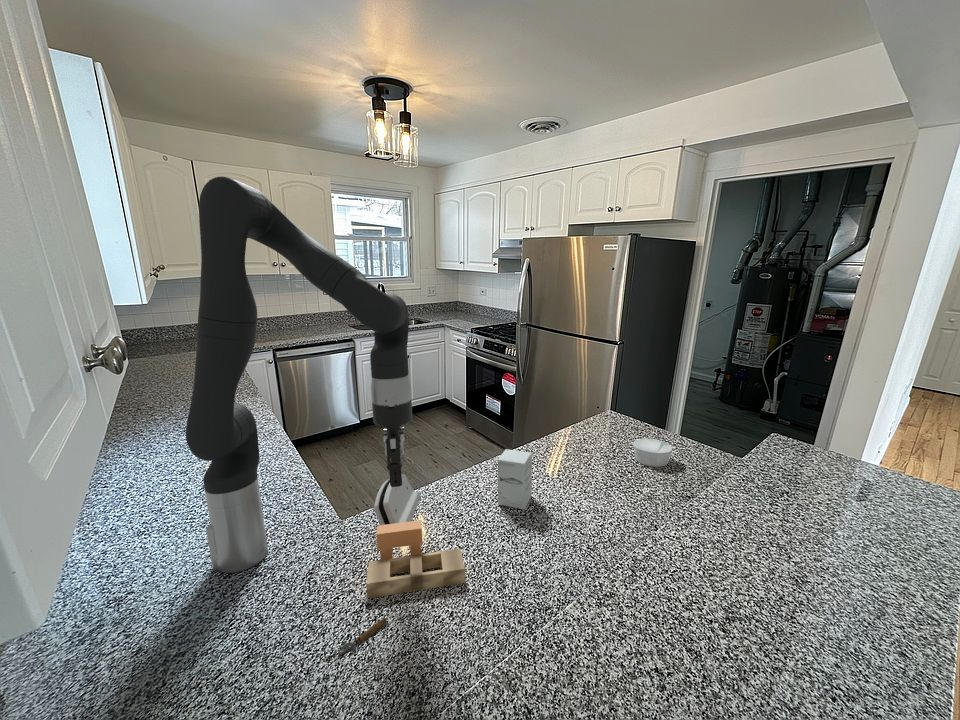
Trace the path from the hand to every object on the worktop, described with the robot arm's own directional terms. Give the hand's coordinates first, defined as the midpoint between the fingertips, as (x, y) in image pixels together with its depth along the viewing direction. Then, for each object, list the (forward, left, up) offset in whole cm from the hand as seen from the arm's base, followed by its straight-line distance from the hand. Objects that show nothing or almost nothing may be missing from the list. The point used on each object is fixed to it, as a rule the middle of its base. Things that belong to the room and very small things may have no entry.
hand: (396, 475), depth 79 cm
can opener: (-6, -19, -19) cm, 27 cm away
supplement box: (+29, +16, -18) cm, 38 cm away
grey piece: (-1, +16, -19) cm, 24 cm away
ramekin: (+77, +29, -19) cm, 84 cm away
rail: (+3, -7, -18) cm, 20 cm away
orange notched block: (0, 0, -18) cm, 18 cm away
